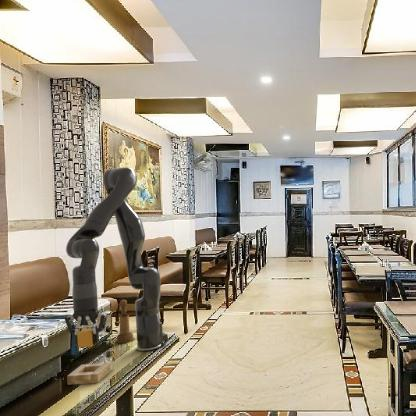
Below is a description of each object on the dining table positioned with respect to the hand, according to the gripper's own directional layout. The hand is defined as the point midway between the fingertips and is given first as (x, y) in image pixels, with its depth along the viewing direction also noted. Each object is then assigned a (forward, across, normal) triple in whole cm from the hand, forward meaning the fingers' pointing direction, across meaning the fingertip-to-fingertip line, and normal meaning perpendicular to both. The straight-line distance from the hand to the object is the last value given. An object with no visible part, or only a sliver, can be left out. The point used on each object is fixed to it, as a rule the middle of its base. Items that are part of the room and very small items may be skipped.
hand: (87, 344), depth 148 cm
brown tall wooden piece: (+12, +3, -40) cm, 41 cm away
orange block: (0, 0, 0) cm, 0 cm away
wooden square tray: (+12, 0, 0) cm, 12 cm away
